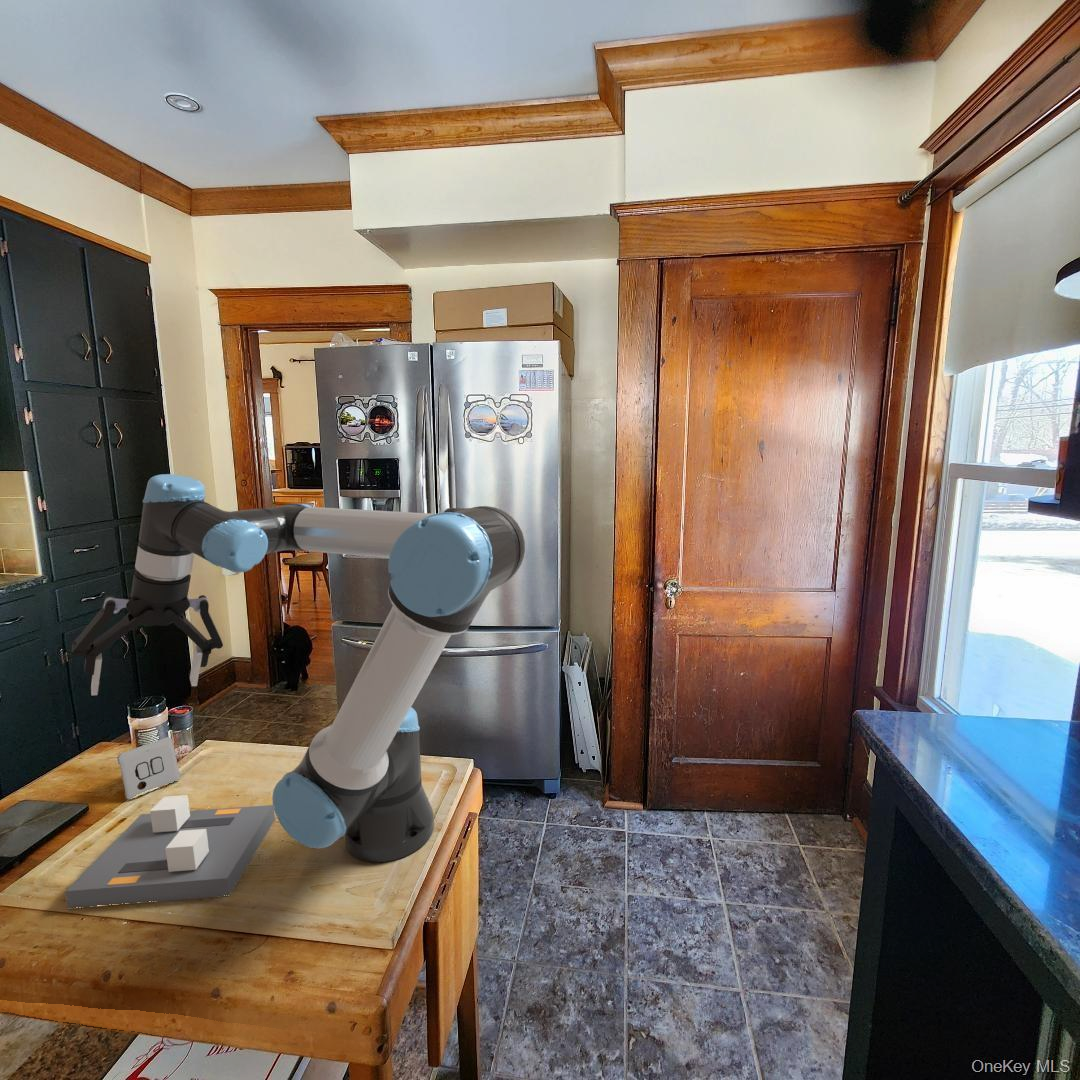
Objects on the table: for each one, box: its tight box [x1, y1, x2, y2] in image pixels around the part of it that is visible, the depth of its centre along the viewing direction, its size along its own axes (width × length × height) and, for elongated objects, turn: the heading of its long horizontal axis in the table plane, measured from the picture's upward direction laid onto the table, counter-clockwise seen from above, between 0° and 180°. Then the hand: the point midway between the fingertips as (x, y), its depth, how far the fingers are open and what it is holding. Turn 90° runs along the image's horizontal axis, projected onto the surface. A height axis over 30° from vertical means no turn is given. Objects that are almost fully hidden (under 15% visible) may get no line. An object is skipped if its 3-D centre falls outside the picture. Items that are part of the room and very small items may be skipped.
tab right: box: [149, 794, 191, 833], centre depth 96 cm, size 4×4×4 cm
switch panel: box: [64, 804, 276, 909], centre depth 92 cm, size 23×18×3 cm
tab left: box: [166, 829, 209, 872], centre depth 87 cm, size 4×4×4 cm
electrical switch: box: [117, 736, 181, 801], centre depth 113 cm, size 9×5×9 cm, turn 141°
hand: (146, 686), depth 93 cm, fingers open, 13 cm apart
